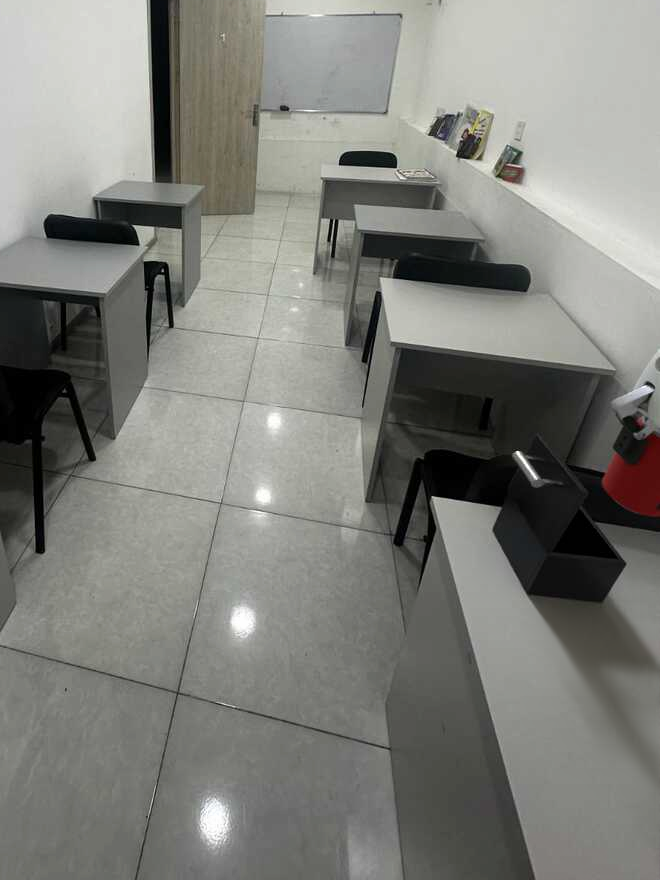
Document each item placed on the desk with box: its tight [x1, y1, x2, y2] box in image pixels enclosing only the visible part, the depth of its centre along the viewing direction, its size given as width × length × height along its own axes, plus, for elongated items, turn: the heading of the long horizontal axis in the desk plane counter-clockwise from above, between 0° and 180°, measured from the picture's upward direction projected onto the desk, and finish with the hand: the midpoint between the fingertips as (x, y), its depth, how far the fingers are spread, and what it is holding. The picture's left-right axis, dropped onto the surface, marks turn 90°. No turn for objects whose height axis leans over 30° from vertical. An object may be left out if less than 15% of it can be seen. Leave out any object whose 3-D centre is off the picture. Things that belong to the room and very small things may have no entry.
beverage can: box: [601, 416, 660, 518], centre depth 61 cm, size 7×7×12 cm
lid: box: [506, 433, 589, 553], centre depth 79 cm, size 13×12×6 cm
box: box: [491, 492, 627, 604], centre depth 83 cm, size 12×12×10 cm
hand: (653, 458), depth 61 cm, fingers closed on beverage can, 6 cm apart
